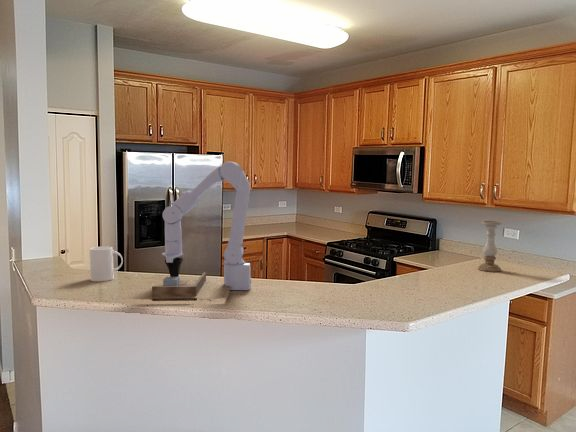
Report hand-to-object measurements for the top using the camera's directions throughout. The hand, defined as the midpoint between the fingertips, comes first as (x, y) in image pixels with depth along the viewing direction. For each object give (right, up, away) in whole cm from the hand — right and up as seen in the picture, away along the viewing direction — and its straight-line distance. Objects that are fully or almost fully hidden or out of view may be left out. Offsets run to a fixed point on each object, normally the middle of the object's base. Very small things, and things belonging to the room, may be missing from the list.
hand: (174, 279), depth 158 cm
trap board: (+3, -4, -5) cm, 7 cm away
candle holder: (+124, -1, +31) cm, 128 cm away
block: (0, -2, -4) cm, 4 cm away
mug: (-30, -2, +14) cm, 33 cm away
